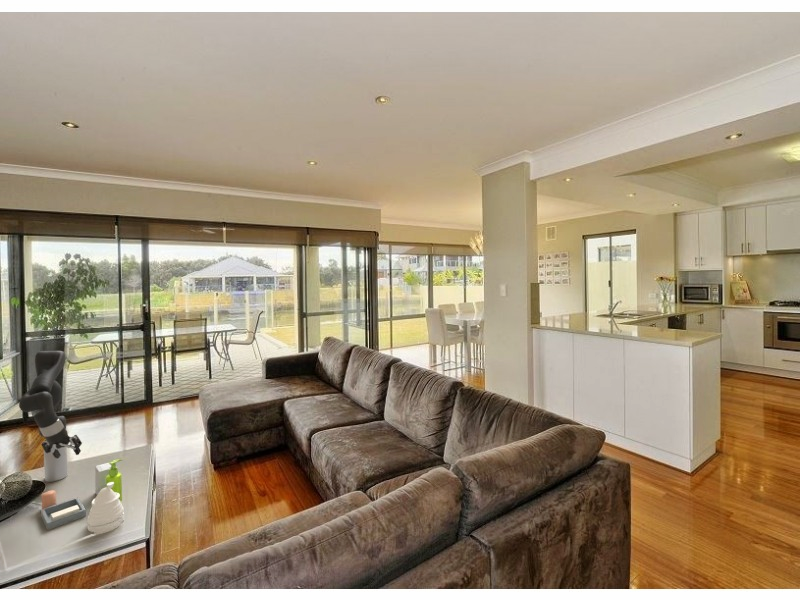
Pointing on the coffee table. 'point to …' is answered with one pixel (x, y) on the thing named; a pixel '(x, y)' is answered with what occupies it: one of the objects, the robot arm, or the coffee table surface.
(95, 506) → the honey pot
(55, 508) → the tray
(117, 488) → the soap dispenser
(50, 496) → the peach rounded ovoid
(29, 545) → the coffee table surface
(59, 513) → the cream rectangular block
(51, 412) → the robot arm
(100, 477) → the skincare box
